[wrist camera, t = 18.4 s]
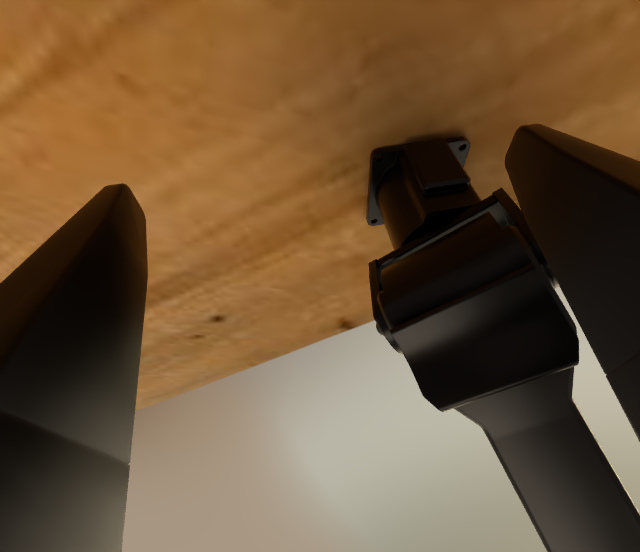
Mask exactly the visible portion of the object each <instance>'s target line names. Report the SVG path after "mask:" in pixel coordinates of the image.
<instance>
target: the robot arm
mask: <svg viewBox="0 0 640 552" xmlns="http://www.w3.org/2000/svg"><path fill="white" fill-rule="evenodd" d="M461 144H463V145H462V146H461V147H459V146H460V145H461ZM469 147H470V142H469V141H468V139H467V138H465V137H458V138H451V139H440V140H433V141H426V142H419V143H412V144H407V145H403V146H396V147H389V148H382V149H377V150H375V151H373V153H372V154H371V157H370V172H369V187H368V202H367V216H366V219H367V222H368V224H369V225H371V226H375V225H381V224H385V226H386V229H387V232H388V234H389V237H390V240H391V242H392V245H393V247H394V251H392V252H390V253H389V254H387V255H385V256H383V257H382V258H380V259H378V260H377V259H375V260H373V261H372V262H370V263H369V273H370V274H369V278H370V288H371V298H372V308H373V317H374V319H375V321H376V322H377V323H376V328H377V330H378V332H379V333H380V334H381V335H384V336H385V337H386V339H387V340H388V342H389V343H390V345H391V346H392V347H393V348H394V349H395V350H396V351H397V352H398V353H400V354H404V356H405V358H406V360H407V362H408V363H409V366H410V368H411V370H412V372H413V374H414V376H415V379H416V381H417V383H418V385H419V388H420V390H421V392H422V394H423V396H424V397H425V398H426V399H427V400H428V401H429V402H430V403H431V404H432V405H434V406H435V407H436V408H437V409H438V410H440V411H442V412H444V411H447V410H450V409H453V408H454V409H456V410H457V411H458V412H460V413H461V414H463V415H464V416H466V417H467V418H469V419H470V420H472V421H473V422H475V423H476V424H478V425H479V426H480V427H481V428H482V429H483V431H484V432H485V434H486V436H487V437H488V439H489V441H490V443H491V445H492V447H493V449H494V451H495V453H496V455H497V456H498V458H499V460H500V462H501V464H502V466H503V468H504V470H505V472H506V474H507V476H508V477H509V479H510V481H511V483H512V485H513V487H514V489H515V491H516V493H517V494H518V496H519V498H520V500H521V502H522V504H523V506H524V508H525V510H526V512H527V514H528V515H529V517H530V519H531V521H532V523H533V525H534V527H535V529H536V531H537V532H538V535H539V536H540V538H541V540H542V542H543V544H544V546H545V548H546V550H547V551H548V552H640V513H639V511H638V510H637V508H636V506H635V505H634V503H633V501H632V500H631V498H630V496H629V495H628V493H627V491H626V489H625V488H624V486H623V484H622V482H621V481H620V479H619V477H618V476H617V474H616V472H615V471H614V469H613V467H612V465H611V464H610V462H609V460H608V458H607V457H606V455H605V453H604V452H603V450H602V448H601V447H600V445H599V443H598V442H597V440H596V438H595V436H594V435H593V433H592V431H591V429H590V428H589V426H588V424H587V423H586V421H585V419H584V418H583V416H582V414H581V412H580V411H579V409H578V407H577V406H576V404H575V402H574V400H573V399H572V388H573V373H574V366H576V365H578V363H579V340H578V337H577V330H576V326H575V323H574V322H573V320H572V318H571V317H570V315H569V313H568V311H567V310H566V308H565V306H564V305H563V303H562V301H561V300H560V298H559V296H558V295H557V293H556V291H555V290H554V289H555V288H557V287H559V286H560V288H561V290H562V292H563V294H564V296H565V297H566V299H567V301H568V303H569V305H570V307H571V309H572V311H573V313H574V315H575V317H576V319H577V321H578V323H579V324H580V326H581V328H582V330H583V332H584V334H585V336H586V338H587V340H588V342H589V344H590V346H591V348H592V349H593V352H594V353H595V355H596V357H597V359H598V361H599V363H600V365H601V367H602V369H603V371H604V373H605V374H607V375H606V377H607V379H608V381H609V383H610V385H611V387H612V389H613V391H614V393H615V395H616V397H617V399H618V400H619V403H620V404H621V406H622V408H623V410H624V412H625V414H626V416H627V418H628V420H629V422H630V424H631V426H632V428H633V429H634V432H635V434H636V436H637V437H638V439H639V441H640V161H637V160H635V159H632V158H629V157H627V156H624V155H621V154H619V153H616V152H613V151H611V150H608V149H605V148H602V147H600V146H597V145H594V144H592V143H589V142H586V141H584V140H581V139H578V138H576V137H573V136H570V135H568V134H565V133H562V132H560V131H557V130H554V129H552V128H549V127H546V126H544V125H541V124H530V125H523V126H521V127H519V128H518V129H517V130H516V132H515V134H514V137H513V139H512V142H511V144H510V147H509V149H508V152H507V154H506V157H505V167H506V170H507V172H508V175H509V178H510V181H511V183H512V186H513V189H514V191H515V194H516V197H517V200H518V202H519V205H520V208H521V210H522V211H521V210H520V208H519V207H518V206H517V205H516V204H515V203H514V201H513V200H512V199H511V198H510V197H509V196H508V194H507V193H506V192H505V191H504V190H503V188H500V189H498V190H497V191H495V192H493V193H492V194H493V195H491V196H489V197H488V198H486V199H484V200H482V201H481V199H480V198H479V196H478V194H477V193H476V191H475V190H474V188H473V187H472V185H471V183H470V178H469V176H468V175H467V173H466V171H465V170H464V168H463V167H464V164H465V160H466V157H467V154H468V151H469ZM378 156H381V158H379V159H376V158H377V157H378ZM372 219H374V220H372ZM147 278H148V266H147V240H146V219H145V215H144V212H143V210H142V208H141V207H140V205H139V203H138V202H137V200H136V198H135V196H134V195H133V193H132V191H131V190H130V188H129V187H128V186H127V185H125V184H115V185H108V186H105V187H104V188H103V189H102V190H101V191H100V192H99V193H97V194H96V195H95V196H94V197H93V198H92V199H91V200H90V201H89V202H88V203H87V204H86V205H85V206H83V207H82V208H81V209H80V210H79V211H78V212H77V213H76V214H75V215H74V216H73V217H72V218H70V219H69V220H68V221H67V222H66V223H65V224H64V225H63V226H62V227H61V228H60V229H59V230H58V231H56V232H55V233H54V234H53V235H52V236H51V237H50V238H49V239H48V240H47V241H46V242H45V243H43V244H42V245H41V246H40V247H39V248H38V249H37V250H36V251H35V252H34V253H33V254H32V255H30V256H29V257H28V258H27V259H26V260H25V261H24V262H23V263H22V264H21V265H20V266H19V267H18V268H16V269H15V270H14V271H13V272H12V273H11V274H10V275H9V276H8V277H7V278H6V279H5V280H3V281H2V282H1V283H0V552H121V551H122V541H123V530H124V520H125V510H126V499H127V489H128V478H129V468H130V465H129V463H130V455H131V445H132V435H133V425H134V414H135V404H136V394H137V384H138V374H139V363H140V353H141V343H142V332H143V322H144V312H145V301H146V291H147Z"/></svg>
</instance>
